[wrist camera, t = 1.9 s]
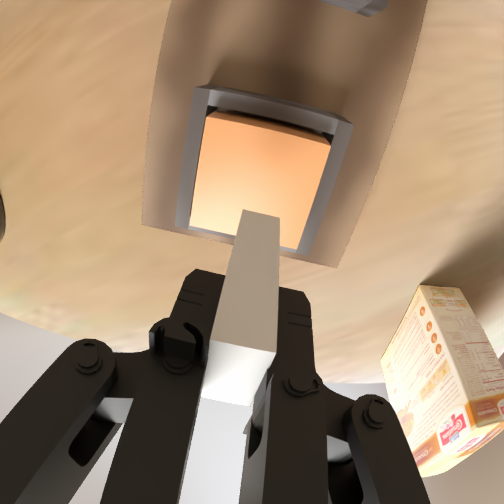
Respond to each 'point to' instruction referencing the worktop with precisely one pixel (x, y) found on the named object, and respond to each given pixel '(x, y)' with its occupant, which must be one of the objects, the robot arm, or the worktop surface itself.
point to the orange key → (256, 174)
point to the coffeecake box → (443, 380)
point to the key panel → (280, 99)
